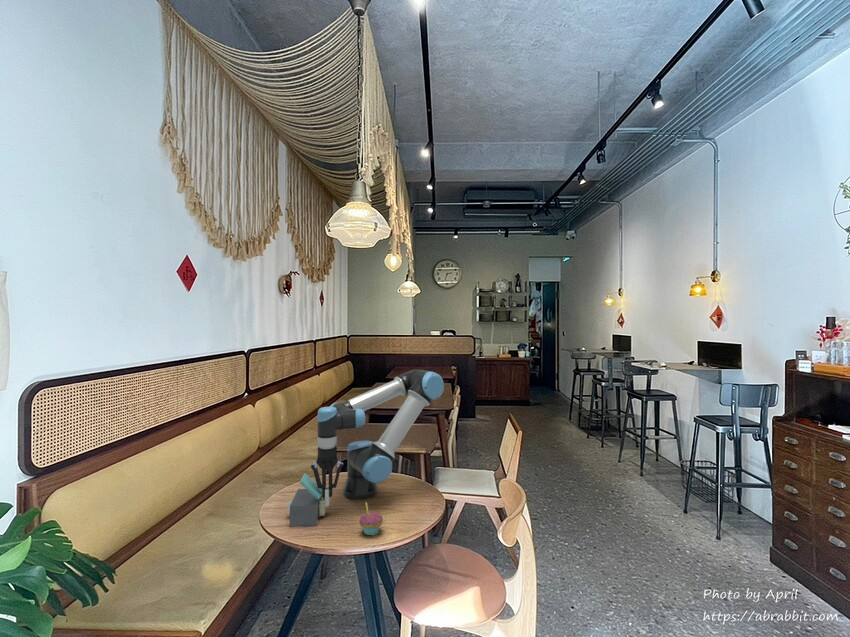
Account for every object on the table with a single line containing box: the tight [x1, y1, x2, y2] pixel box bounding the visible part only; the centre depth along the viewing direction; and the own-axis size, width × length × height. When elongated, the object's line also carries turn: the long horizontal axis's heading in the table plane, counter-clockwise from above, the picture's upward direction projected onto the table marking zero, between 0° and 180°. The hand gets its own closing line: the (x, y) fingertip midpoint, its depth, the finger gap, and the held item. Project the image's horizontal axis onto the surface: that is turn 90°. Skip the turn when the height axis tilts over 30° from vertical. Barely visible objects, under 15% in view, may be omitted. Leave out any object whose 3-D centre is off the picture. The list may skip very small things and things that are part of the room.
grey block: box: [289, 488, 322, 528], centre depth 171 cm, size 10×16×8 cm, turn 5°
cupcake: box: [359, 501, 384, 536], centre depth 158 cm, size 9×8×12 cm
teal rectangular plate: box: [299, 472, 322, 500], centre depth 171 cm, size 10×8×1 cm
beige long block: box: [286, 495, 328, 517], centre depth 171 cm, size 15×6×6 cm, turn 95°
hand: (327, 504), depth 172 cm, fingers closed
